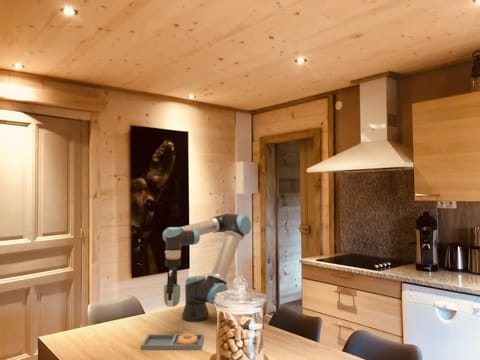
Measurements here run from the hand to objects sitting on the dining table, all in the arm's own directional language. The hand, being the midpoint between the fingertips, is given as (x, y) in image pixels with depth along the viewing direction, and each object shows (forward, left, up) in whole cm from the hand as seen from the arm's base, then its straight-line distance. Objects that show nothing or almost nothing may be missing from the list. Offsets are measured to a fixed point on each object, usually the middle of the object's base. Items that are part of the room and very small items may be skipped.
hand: (171, 304), depth 193 cm
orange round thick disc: (0, +15, -15) cm, 21 cm away
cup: (0, 0, -1) cm, 1 cm away
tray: (+5, +11, -16) cm, 20 cm away
